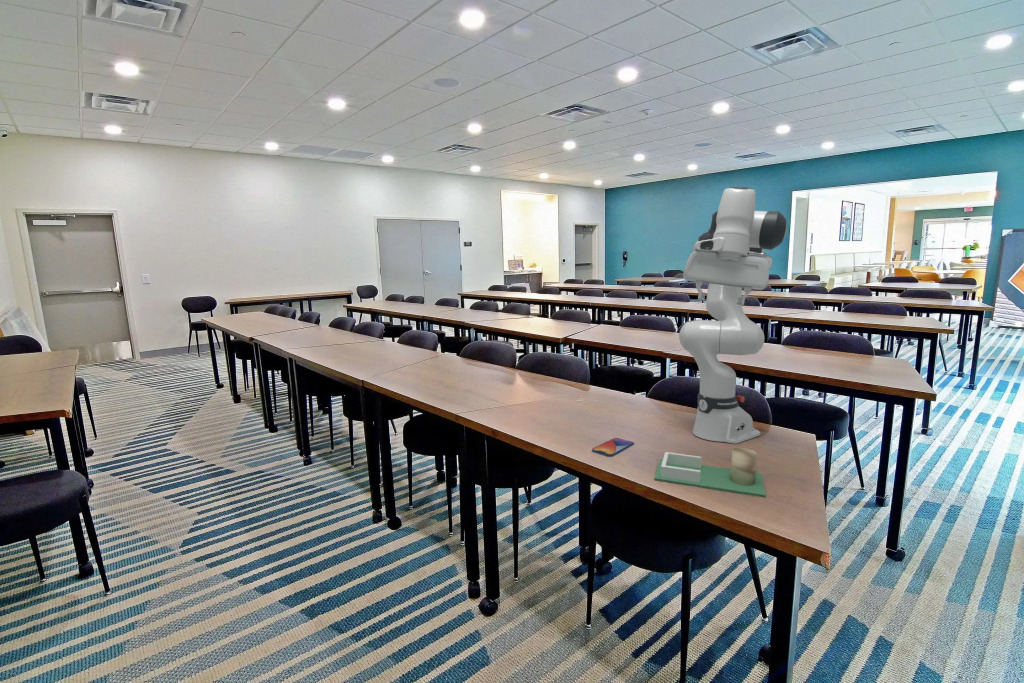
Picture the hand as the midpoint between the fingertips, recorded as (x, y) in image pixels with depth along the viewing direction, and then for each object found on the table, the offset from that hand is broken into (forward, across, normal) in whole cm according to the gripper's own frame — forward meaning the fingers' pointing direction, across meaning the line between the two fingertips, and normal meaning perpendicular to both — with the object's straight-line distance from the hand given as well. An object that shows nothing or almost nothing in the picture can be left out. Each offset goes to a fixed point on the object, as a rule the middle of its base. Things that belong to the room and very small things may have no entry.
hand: (720, 302), depth 127 cm
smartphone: (+47, +20, -27) cm, 58 cm away
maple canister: (+45, -14, -9) cm, 48 cm away
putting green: (+47, -6, -11) cm, 48 cm away
